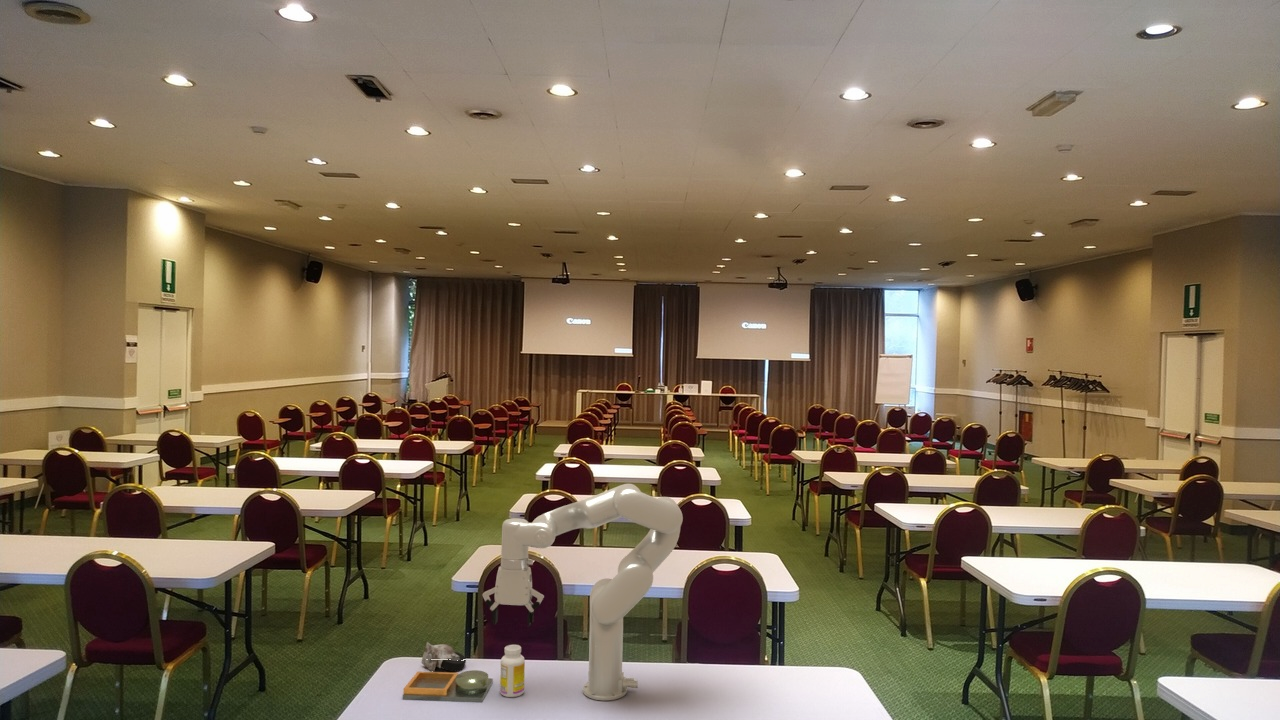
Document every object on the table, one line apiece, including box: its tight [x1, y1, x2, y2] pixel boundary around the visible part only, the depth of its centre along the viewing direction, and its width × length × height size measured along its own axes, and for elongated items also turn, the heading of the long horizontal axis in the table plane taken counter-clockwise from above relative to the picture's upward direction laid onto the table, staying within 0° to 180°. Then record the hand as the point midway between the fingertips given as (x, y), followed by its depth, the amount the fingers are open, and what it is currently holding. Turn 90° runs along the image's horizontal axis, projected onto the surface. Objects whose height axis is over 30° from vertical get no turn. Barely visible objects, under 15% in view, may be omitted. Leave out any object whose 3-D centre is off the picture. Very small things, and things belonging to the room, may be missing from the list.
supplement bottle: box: [499, 644, 526, 698], centre depth 217 cm, size 7×7×13 cm
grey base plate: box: [402, 669, 494, 703], centre depth 218 cm, size 22×13×4 cm, turn 88°
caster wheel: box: [420, 641, 467, 672], centre depth 234 cm, size 7×11×10 cm
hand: (512, 624), depth 217 cm, fingers open, 9 cm apart
